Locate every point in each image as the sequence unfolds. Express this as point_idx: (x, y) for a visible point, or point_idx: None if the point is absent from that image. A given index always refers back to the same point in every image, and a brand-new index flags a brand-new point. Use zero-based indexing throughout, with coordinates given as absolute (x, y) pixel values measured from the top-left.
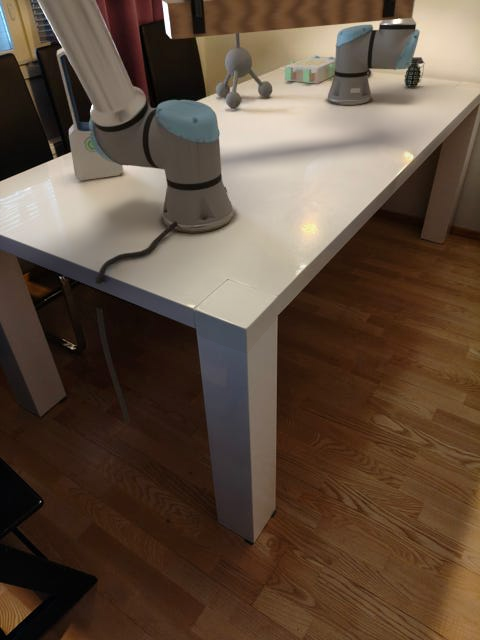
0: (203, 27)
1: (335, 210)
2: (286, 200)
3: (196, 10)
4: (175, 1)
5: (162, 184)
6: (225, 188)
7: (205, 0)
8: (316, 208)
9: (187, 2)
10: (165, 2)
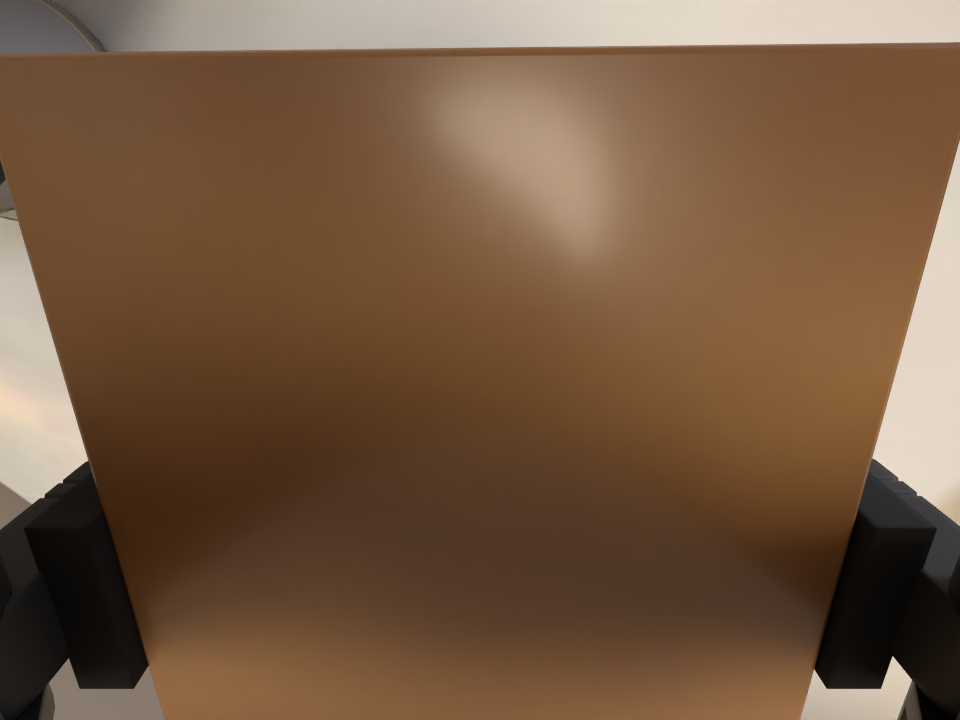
0: None
1: (48, 466)
2: None
3: (59, 495)
4: (321, 285)
5: (323, 24)
6: (7, 215)
7: (172, 702)
8: (64, 432)
9: (91, 458)
10: (316, 50)
